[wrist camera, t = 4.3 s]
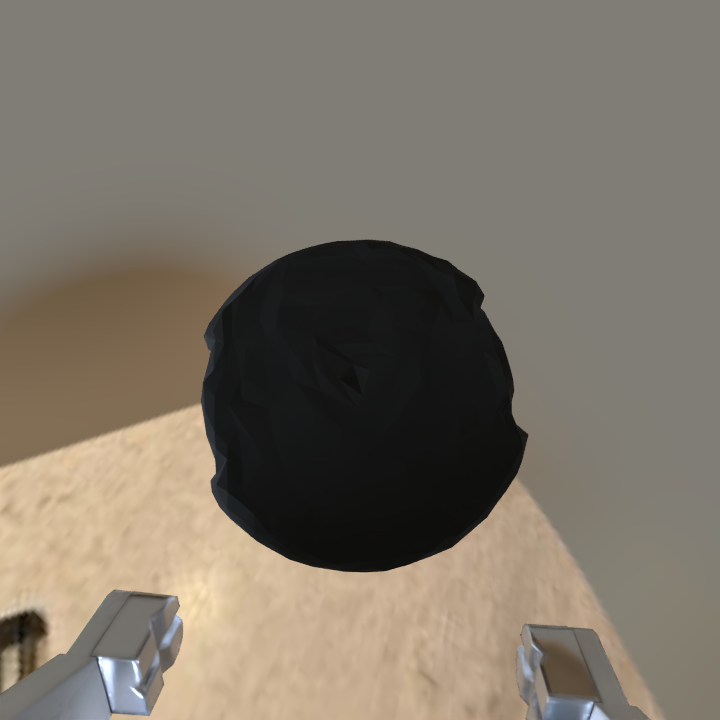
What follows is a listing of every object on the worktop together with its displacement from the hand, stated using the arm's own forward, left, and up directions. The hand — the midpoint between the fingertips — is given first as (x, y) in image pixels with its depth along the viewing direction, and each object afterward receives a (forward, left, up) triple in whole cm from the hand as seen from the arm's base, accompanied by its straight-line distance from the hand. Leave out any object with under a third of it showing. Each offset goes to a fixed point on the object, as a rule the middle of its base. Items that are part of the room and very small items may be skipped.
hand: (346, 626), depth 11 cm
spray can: (+3, -3, -16) cm, 16 cm away
